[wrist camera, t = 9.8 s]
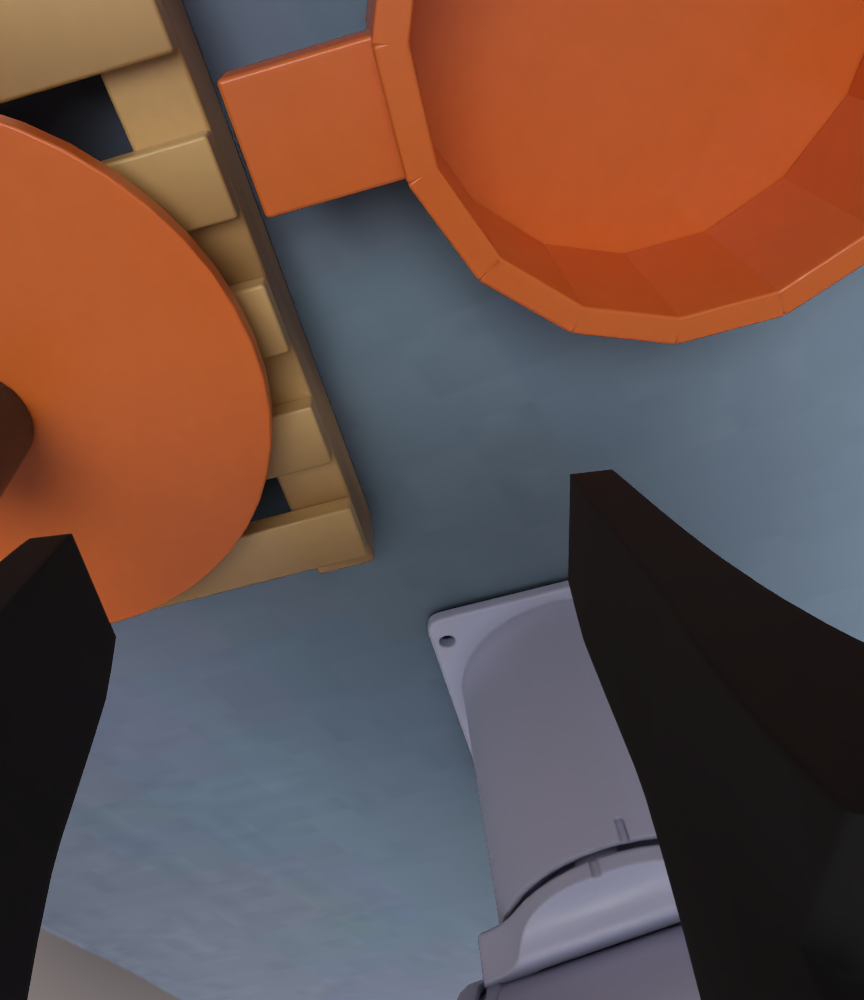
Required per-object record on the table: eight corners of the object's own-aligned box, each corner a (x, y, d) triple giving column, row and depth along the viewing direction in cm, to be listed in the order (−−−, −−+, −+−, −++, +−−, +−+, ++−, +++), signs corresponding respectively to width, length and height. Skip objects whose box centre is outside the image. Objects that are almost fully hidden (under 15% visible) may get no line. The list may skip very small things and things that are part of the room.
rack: (372, 518, 24) (375, 575, 22) (-40, 624, 25) (-76, 689, 23) (145, -100, 15) (114, -105, 13) (-475, 96, 16) (-600, 120, 14)
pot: (1001, 167, 20) (1149, 220, 16) (339, 348, 21) (338, 435, 17) (1112, -539, 13) (1402, -716, 10) (142, -223, 14) (74, -275, 11)
